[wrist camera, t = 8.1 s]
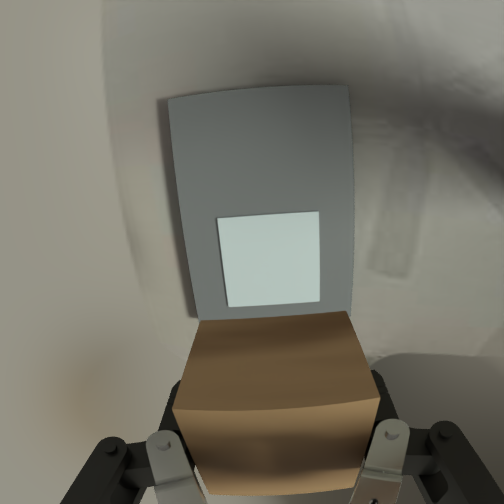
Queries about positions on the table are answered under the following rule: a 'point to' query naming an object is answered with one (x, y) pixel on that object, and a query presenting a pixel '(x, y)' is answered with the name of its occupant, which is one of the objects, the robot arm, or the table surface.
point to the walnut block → (277, 404)
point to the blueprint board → (266, 199)
